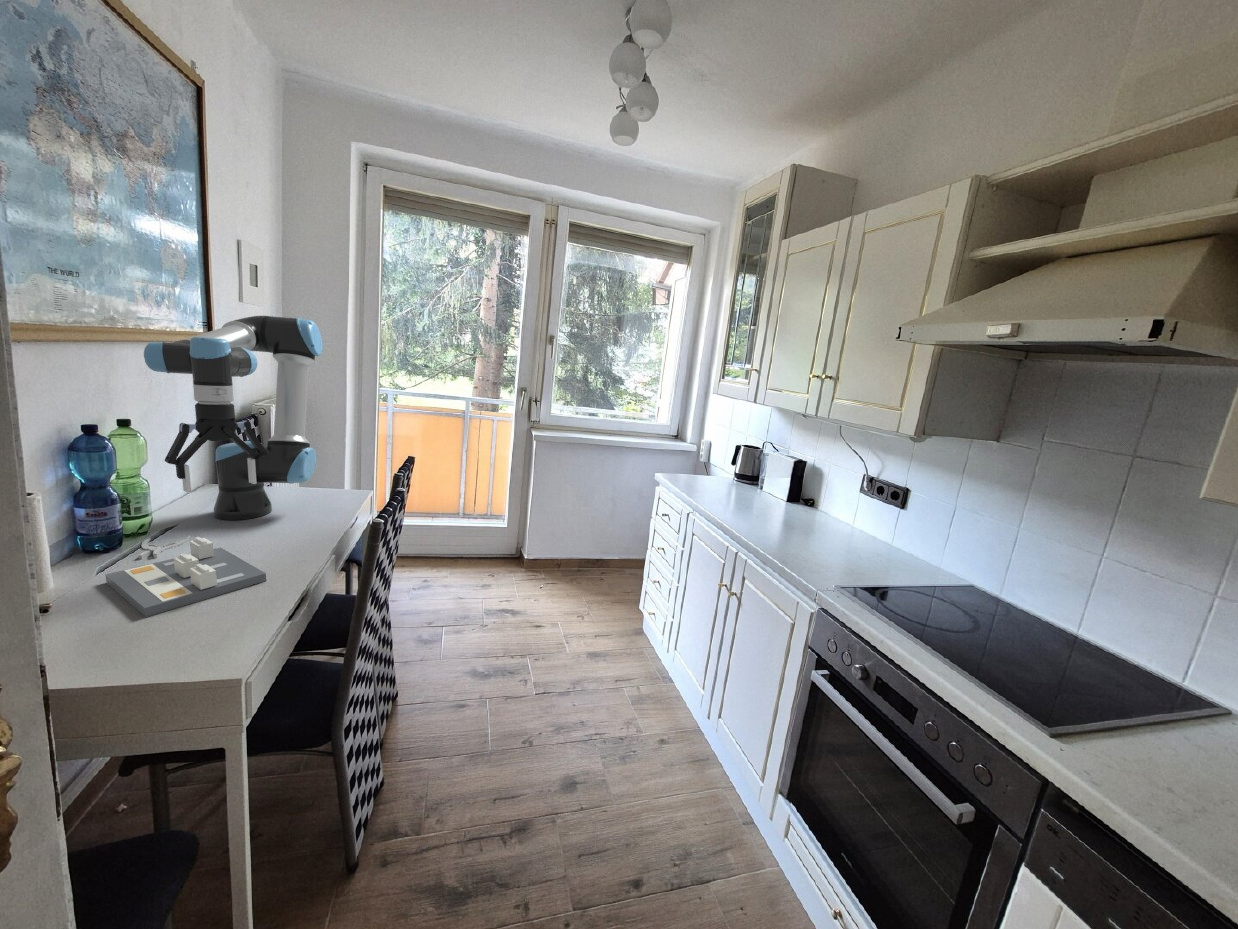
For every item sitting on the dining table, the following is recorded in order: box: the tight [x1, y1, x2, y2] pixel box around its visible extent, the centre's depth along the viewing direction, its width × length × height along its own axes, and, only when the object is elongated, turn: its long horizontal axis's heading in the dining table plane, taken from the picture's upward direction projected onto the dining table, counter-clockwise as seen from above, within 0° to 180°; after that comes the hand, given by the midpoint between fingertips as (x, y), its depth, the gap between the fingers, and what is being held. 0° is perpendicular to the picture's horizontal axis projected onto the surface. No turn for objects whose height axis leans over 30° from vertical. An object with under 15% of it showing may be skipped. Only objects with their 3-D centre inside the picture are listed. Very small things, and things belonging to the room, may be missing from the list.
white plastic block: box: [190, 564, 217, 590], centre depth 112 cm, size 3×5×4 cm, turn 58°
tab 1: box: [189, 536, 214, 559], centre depth 126 cm, size 3×5×4 cm, turn 58°
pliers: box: [138, 535, 192, 561], centre depth 134 cm, size 10×2×15 cm
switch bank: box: [105, 547, 267, 618], centre depth 118 cm, size 22×24×2 cm
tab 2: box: [173, 552, 199, 578], centre depth 117 cm, size 3×5×4 cm, turn 58°
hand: (221, 487), depth 127 cm, fingers open, 13 cm apart
